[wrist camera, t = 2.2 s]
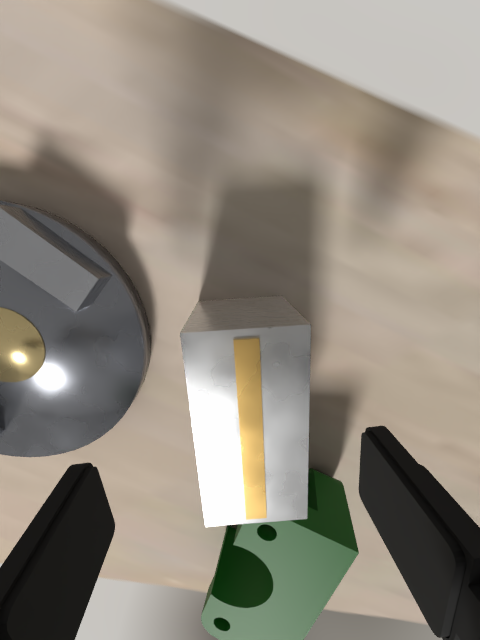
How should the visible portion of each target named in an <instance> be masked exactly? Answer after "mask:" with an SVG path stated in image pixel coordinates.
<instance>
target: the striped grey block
mask: <svg viewBox="0 0 480 640" xmlns="http://www.w3.org/2000/svg"><path fill="white" fill-rule="evenodd" d="M180 337H181V345H182V352H183V360H184V368H185V375H186V383H187V391H188V398H189V406H190V414H191V421H192V429H193V436H194V444H195V452H196V459H197V467H198V475H199V482H200V490H201V498H202V505H203V513H204V521H205V527H211V526H223V525H236V524H249V523H262V522H275V521H287V520H300V519H307V508H308V454H309V400H310V346H311V324H310V323H309V322H308V321H307V320H306V319H305V318H304V317H303V316H302V315H301V314H300V313H299V312H298V311H297V310H296V309H295V308H294V307H293V306H292V305H291V304H290V303H289V302H288V301H287V300H286V299H285V298H284V297H283V296H267V297H251V298H236V299H220V300H205V301H198V303H197V304H196V306H195V308H194V310H193V311H192V313H191V315H190V317H189V318H188V320H187V322H186V324H185V325H184V327H183V329H182V331H181V332H180Z"/></svg>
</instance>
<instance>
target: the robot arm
mask: <svg viewBox="0 0 480 640" xmlns="http://www.w3.org/2000/svg"><path fill="white" fill-rule="evenodd" d="M359 494H360V497H361V500H362V502H363V504H364V506H365V508H366V510H367V511H368V513H369V515H370V517H371V519H372V521H373V523H374V524H375V526H376V528H377V530H378V532H379V534H380V536H381V537H382V539H383V541H384V543H385V545H386V547H387V549H388V550H389V552H390V554H391V556H392V558H393V560H394V561H395V563H396V565H397V567H398V569H399V571H400V573H401V574H402V576H403V578H404V580H405V582H406V584H407V586H408V587H409V589H410V591H411V593H412V595H413V597H414V599H415V600H416V602H417V604H418V606H419V608H420V610H421V612H422V613H423V615H424V617H425V619H426V621H427V623H428V625H429V626H430V628H431V630H432V631H433V633H434V634H435V635H436V636H437V637H439V638H440V637H442V638H443V640H480V528H479V527H478V525H477V524H476V523H475V522H474V521H473V520H472V519H471V518H470V517H469V515H468V514H467V513H466V512H465V511H464V510H463V509H462V508H461V507H460V505H459V504H458V503H457V502H456V501H455V500H454V499H453V498H452V497H451V495H450V494H449V493H448V492H447V491H446V490H445V489H444V488H443V487H442V485H441V484H440V483H439V482H438V481H437V480H436V479H435V478H434V477H433V475H432V474H431V473H430V472H429V471H428V470H427V469H426V468H425V467H424V466H422V465H420V464H418V463H417V462H416V461H415V459H414V458H413V457H412V456H411V455H410V454H409V453H408V451H407V450H406V449H405V448H404V447H403V446H402V445H401V444H400V442H399V441H398V440H397V439H396V438H395V437H394V436H393V435H392V433H391V432H390V431H389V430H388V429H387V428H386V427H385V426H376V427H368V428H366V431H365V432H364V433H362V436H361V456H360V475H359ZM114 530H115V522H114V518H113V515H112V512H111V509H110V506H109V503H108V500H107V497H106V494H105V491H104V488H103V484H102V481H101V478H100V475H99V472H98V469H97V467H93V465H92V464H91V463H83V464H75V465H71V466H70V467H69V468H68V469H67V471H66V472H65V474H64V475H63V476H62V478H61V479H60V481H59V482H58V484H57V485H56V487H55V488H54V490H53V491H52V493H51V494H50V496H49V497H48V498H47V500H46V501H45V503H44V504H43V506H42V507H41V509H40V510H39V512H38V513H37V515H36V516H35V518H34V519H33V520H32V522H31V523H30V525H29V526H28V528H27V529H26V531H25V532H24V534H23V535H22V537H21V538H20V540H19V541H18V542H17V544H16V545H15V547H14V548H13V550H12V551H11V553H10V554H9V556H8V557H7V559H6V560H5V562H4V563H3V564H2V566H1V567H0V640H75V637H76V635H77V632H78V629H79V627H80V623H81V621H82V618H83V616H84V613H85V610H86V608H87V605H88V602H89V600H90V597H91V594H92V591H93V589H94V586H95V583H96V581H97V578H98V575H99V573H100V570H101V567H102V565H103V562H104V559H105V557H106V554H107V551H108V548H109V546H110V543H111V540H112V538H113V535H114Z"/></svg>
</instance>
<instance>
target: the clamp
mask: <svg viewBox="0 0 480 640" xmlns="http://www.w3.org/2000/svg"><path fill="white" fill-rule="evenodd" d="M358 553H359V552H358V547H357V543H356V539H355V534H354V530H353V525H352V521H351V517H350V512H349V508H348V504H347V499H346V495H345V491H344V486H343V484H342V482H341V481H339V480H336V479H334V478H332V477H330V476H327V475H325V474H323V473H321V472H318V471H316V470H314V469H309V470H308V508H307V519H300V520H287V521H275V522H262V523H249V524H238V525H237V530H236V529H234V528H233V527H230V526H228V527H227V529H226V532H225V536H224V540H223V544H222V548H221V552H220V556H219V560H218V564H217V568H216V572H215V575H214V578H213V580H212V582H211V584H210V587H209V589H208V593H207V597H206V600H205V604H204V608H203V612H202V616H201V621H202V624H203V626H204V628H205V629H206V630H207V631H208V632H209V633H210V634H211V635H212V636H214V637H216V638H218V639H219V640H304V638H305V637H306V635H307V634H308V632H309V630H310V629H311V627H312V625H313V624H314V623H315V621H316V619H317V618H318V616H319V615H320V613H321V611H322V610H323V608H324V607H325V605H326V604H327V602H328V601H329V599H330V597H331V596H332V594H333V593H334V591H335V590H336V588H337V586H338V585H339V583H340V582H341V580H342V579H343V577H344V575H345V574H346V572H347V571H348V569H349V567H350V566H351V564H352V563H353V561H354V560H355V558H356V556H357V555H358Z"/></svg>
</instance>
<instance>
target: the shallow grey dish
mask: <svg viewBox="0 0 480 640" xmlns="http://www.w3.org/2000/svg"><path fill="white" fill-rule="evenodd" d="M150 348H151V339H150V331H149V324H148V320H147V316H146V313H145V309H144V306H143V304H142V302H141V299H140V297H139V294H138V292H137V291H136V289H135V287H134V285H133V284H132V282H131V280H130V278H129V277H128V275H127V274H126V273H125V271H124V270H123V269H122V267H121V266H120V265H119V263H118V262H117V261H116V260H115V259H114V258H113V257H112V256H111V255H110V253H109V252H108V251H107V250H106V249H105V248H104V247H102V246H101V245H100V244H99V243H98V242H97V241H95V240H94V239H93V238H92V237H91V236H89V235H88V234H86V233H85V232H83V231H82V230H80V229H79V228H77V227H76V226H74V225H73V224H71V223H69V222H67V221H65V220H63V219H61V218H59V217H57V216H55V215H53V214H50V213H48V212H45V211H42V210H40V209H37V208H33V207H29V206H25V205H21V204H17V203H12V202H6V201H1V200H0V454H2V455H9V456H20V457H40V456H50V455H56V454H62V453H65V452H69V451H72V450H76V449H78V448H80V447H83V446H85V445H88V444H90V443H91V442H93V441H95V440H97V439H98V438H100V437H101V436H103V435H104V434H105V433H107V432H108V431H109V430H110V429H112V428H113V427H114V426H115V425H116V424H117V422H118V421H119V420H120V419H121V418H122V417H123V415H124V414H125V413H126V411H127V410H128V408H129V407H130V405H131V404H132V402H133V400H134V399H135V397H136V396H137V394H138V392H139V390H140V388H141V386H142V384H143V382H144V380H145V377H146V373H147V370H148V366H149V360H150Z"/></svg>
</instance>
